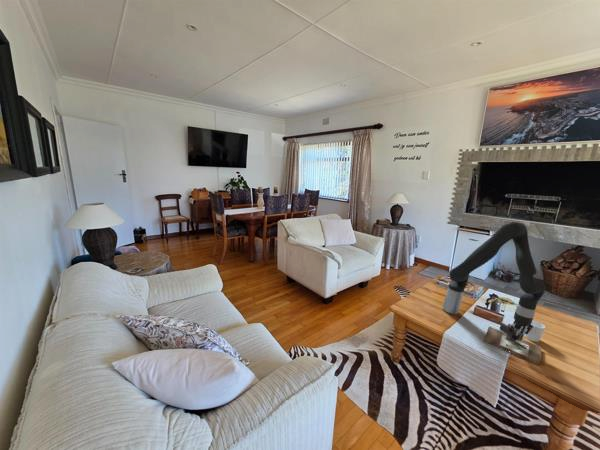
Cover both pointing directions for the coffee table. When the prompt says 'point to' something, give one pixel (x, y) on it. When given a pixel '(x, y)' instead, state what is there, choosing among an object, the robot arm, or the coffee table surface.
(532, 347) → the tuner board
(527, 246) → the robot arm
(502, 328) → the peg key
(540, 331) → the white cup
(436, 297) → the coffee table surface
